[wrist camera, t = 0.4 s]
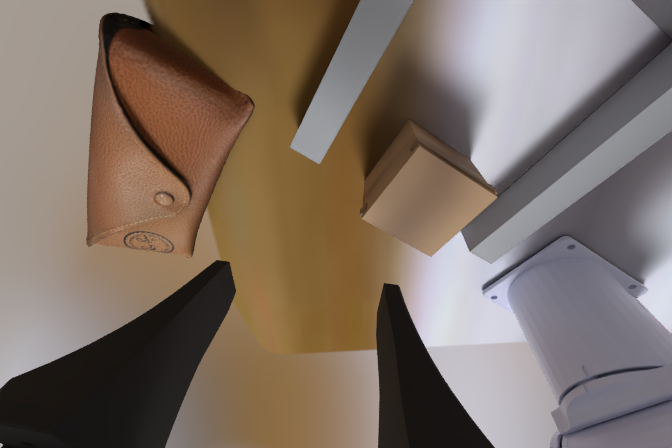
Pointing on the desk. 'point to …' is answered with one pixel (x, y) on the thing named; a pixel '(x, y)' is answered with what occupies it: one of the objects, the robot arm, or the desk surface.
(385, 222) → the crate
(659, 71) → the bay
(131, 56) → the sunglasses case
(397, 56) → the desk surface
